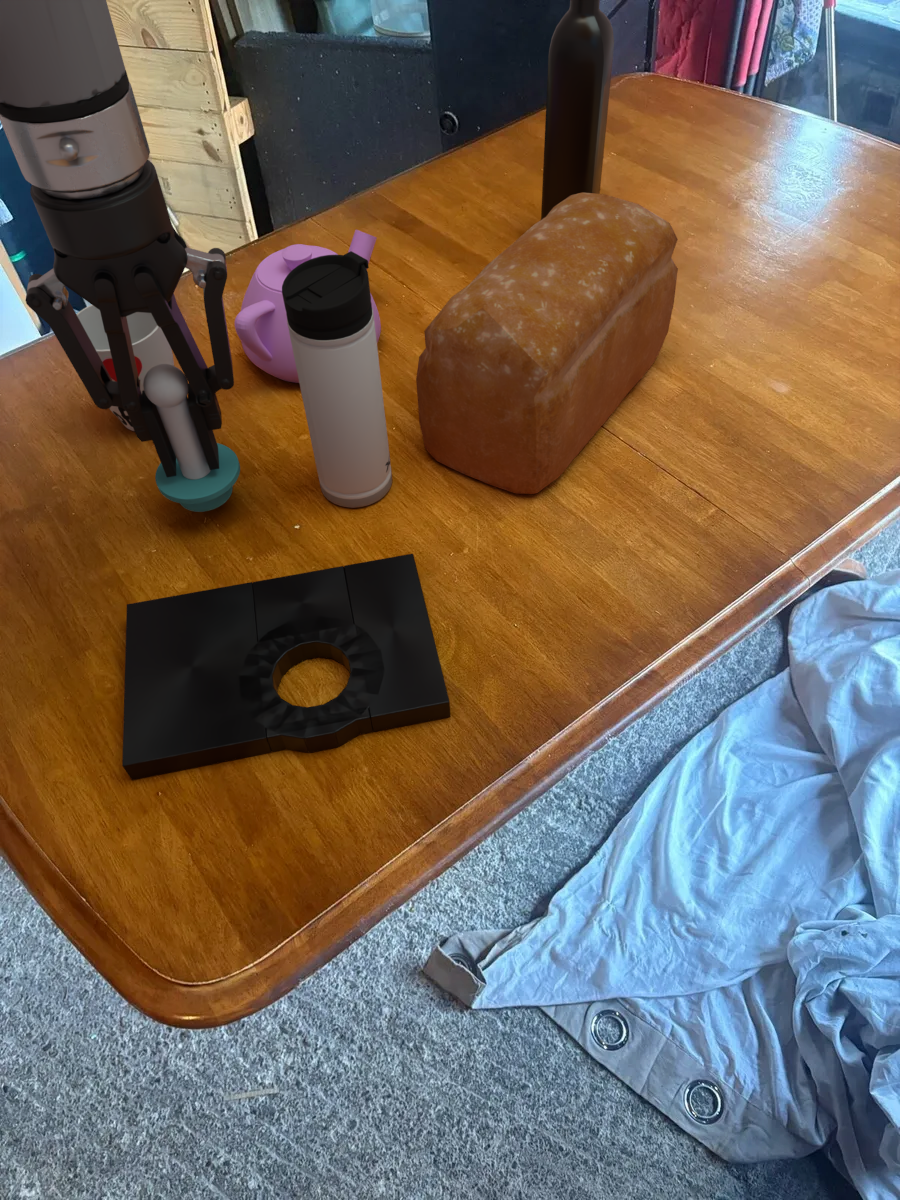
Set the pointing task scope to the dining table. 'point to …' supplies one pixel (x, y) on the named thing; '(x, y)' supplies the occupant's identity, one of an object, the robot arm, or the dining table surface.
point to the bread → (547, 342)
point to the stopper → (188, 446)
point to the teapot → (283, 307)
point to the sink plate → (276, 665)
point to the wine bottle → (576, 103)
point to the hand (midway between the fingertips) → (192, 461)
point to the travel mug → (340, 376)
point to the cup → (145, 343)
